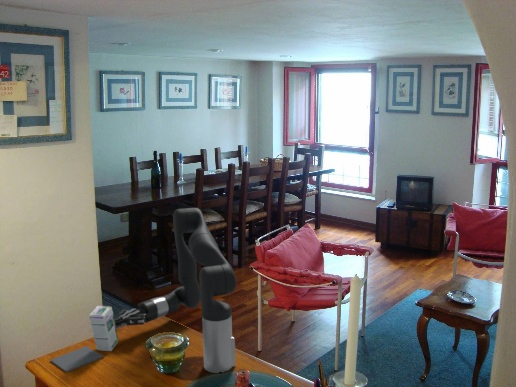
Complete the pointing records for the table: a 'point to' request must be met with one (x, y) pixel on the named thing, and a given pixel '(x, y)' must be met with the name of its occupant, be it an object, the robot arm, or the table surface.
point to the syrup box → (104, 328)
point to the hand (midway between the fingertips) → (111, 323)
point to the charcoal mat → (76, 359)
